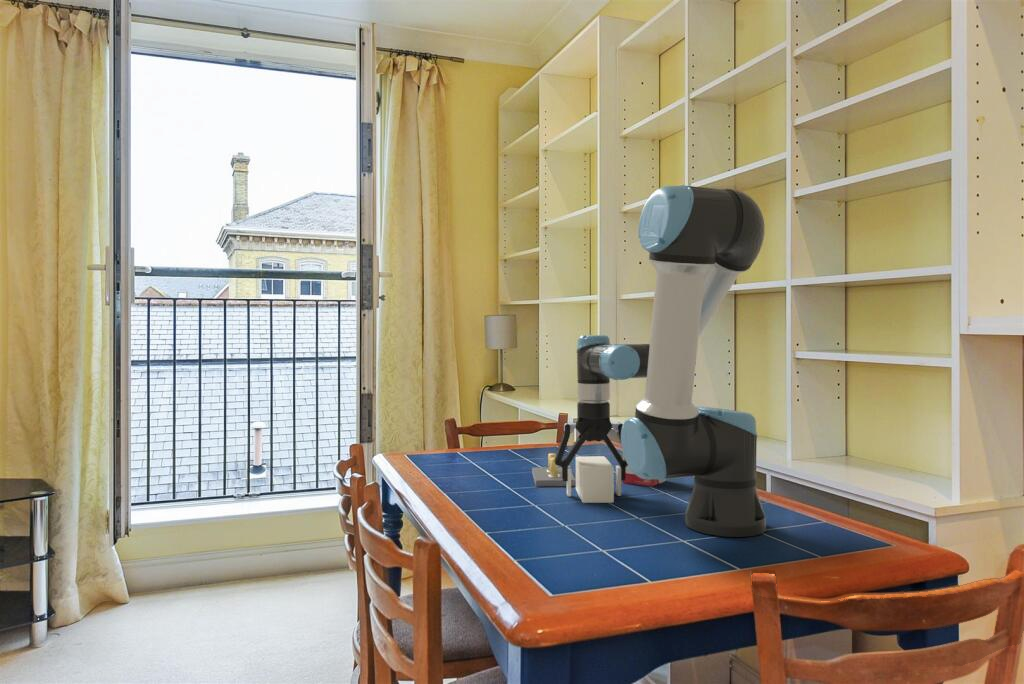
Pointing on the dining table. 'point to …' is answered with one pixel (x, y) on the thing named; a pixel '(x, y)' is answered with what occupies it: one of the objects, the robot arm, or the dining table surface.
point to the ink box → (634, 479)
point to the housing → (594, 479)
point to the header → (550, 474)
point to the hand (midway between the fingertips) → (593, 494)
